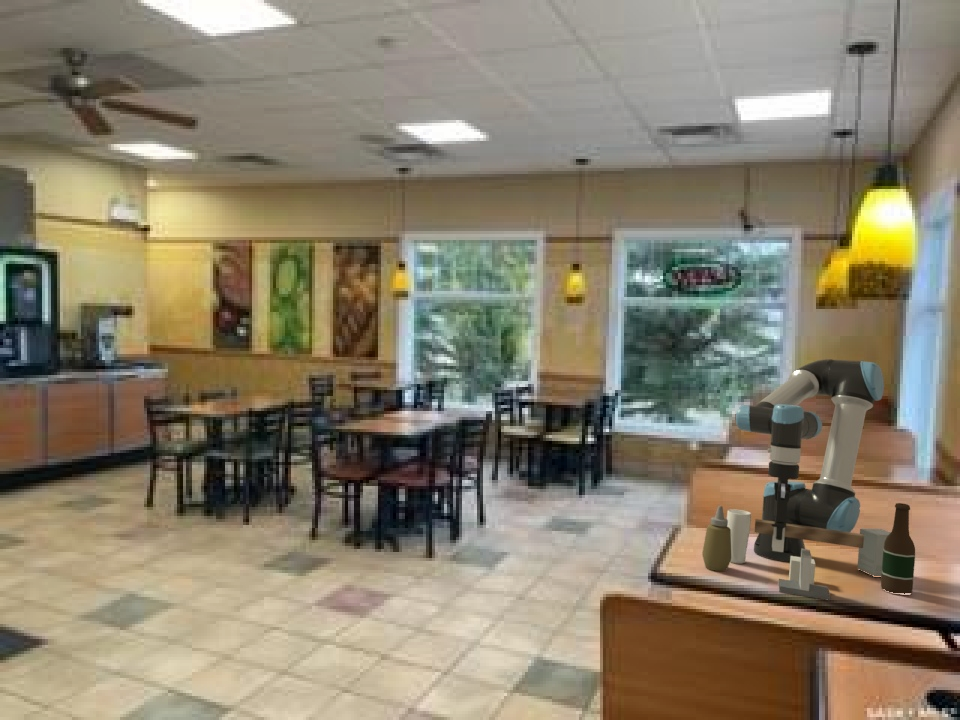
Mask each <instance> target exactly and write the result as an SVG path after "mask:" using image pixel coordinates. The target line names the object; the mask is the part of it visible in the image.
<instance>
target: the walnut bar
mask: <svg viewBox="0 0 960 720" xmlns="http://www.w3.org/2000/svg"><path fill="white" fill-rule="evenodd" d="M754 520H755V522H754V533H757V534H759V533H763V534H770V535H773V533H774V527H773V526H772V524H774V523H775V522H774V521H767V520H762V519H758V518H755V519H754ZM784 537H790V538H797V539H803V541H812V542H817V543H818V542H819V543H824V544H825V543H826V544H832V545H839V546H846V547H853V548H858V549H859V548H863V543H864V536H863V534H860V533H858V532H852V531H851V532H844V531H837V530H830V529H823V528H816V527H809V526H802V525H795V524H788V523H786V527H785V536H784Z"/></svg>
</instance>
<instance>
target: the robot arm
mask: <svg viewBox="0 0 960 720" xmlns="http://www.w3.org/2000/svg"><path fill="white" fill-rule="evenodd" d="M884 383H885V382H884V376H883V372H882V368H881V367H880V365H878V364H877V363H876V362H872V361H864V360H861V361H860V360H843V359H842V360H841V359H827V358H826V359H820V360H816V361H813V362H810V363H808V364H805V365H803V366H801V367H799V368H797V369H796V370H794V371H793V372H792V373H791V374H790V375H789V376H788V380H786V381H785V382H784V383H783V384H781V385H780V386H779V387H777V388H776V389H775V390H773V391H772V392H771V393H769V394H768V395H767V396H766V397H764V398H763V399H762V400H760V401H759V402H758V403H756V404H754V405H750V404H749V405H744V404H743V405H740V407H739V408H737V410H736V415H735V424H736V427H737V428H738V429H739V430H740V431H744V432H749V433H755V434H756V433H757V434H764V435H771V436H770V448H769V447H768V448H767V452H769V460H771V461H769V462H768V468H767V469H768V471H767V474H768V476H770V477H773V478H777V481H769V482H767V483H765V486H764V491H763V495H762V497H763V498H762V499H763V501H762V514H761V515H762V517H761V520H767V521H774V522H775V523H774V524H772V526H773V527H774V533H773V535H770V534H763V533H757V537H756V539H755V541H754V544H753V552H754V553H755V554H756V553H757V555H758V556H761V557H763V558H765V559H771V560H774V561H781V562H785V563H790V556H796V557H801V549H806V546H805V542H804V541H805V540H804V539H797V538H790V537H784V536H785V527H786V523H788V524H795V525H802V526H809V527H816V528H823V529H830V530H837V531H844V532H851V533H852V531H853V530H854V528H855V526H856V525H857V522H858V520H859V518H860V512H861V509H860V508H861V502H860V500H859V499H858V498H857V497H856V492H855V490H854V488H853V487H852V482H853V478H854V473H855V467H856V462H857V458H858V452H859V447H860V443H861V438H862V433H863V427H864V423H865V418H866V414H867V412H868V410H870V409H872V408H873V407H874V403H875V401H876V402H877V401H881V400H882V397H883V396H884V389H885V388H884ZM814 396H828V397H831V398H830V400H831V402H832V403H833V404H834V406H835V407H834V411H833V414H832V415H833V416H832V419H831V424H830V429H829V434H828V438H827V443H826V449H825V452H824V458H823V461H822V462H823V464H822V468H821V471H820V476H819V479H817V480H816V481H814V482H813V483H812V488H811V489H810V488H806V487H807V486H806V484H805V482H801V481H792V480H797V479H798V478H799V475H800V465H799V463H800V462H801V454H802V452H801V451H802V440H810V439H813V438H816V437H818V435H819V434H820V433H821V432H822V429H823V422H822V419H821V417H820V416H819V415H818V414H816V413H815V412H812V411H806V410H804V408H803V407H802V406H800V404H801V403H802V402H803V401H804V400H805V399H811V398H813V397H814ZM789 480H790V481H789Z"/></svg>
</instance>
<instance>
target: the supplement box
mask: <svg viewBox="0 0 960 720" xmlns="http://www.w3.org/2000/svg"><path fill="white" fill-rule="evenodd" d="M891 532H892V531H887V530H885V529H882V528H859V534H863V536H864V543H863V548H858V554H857V555H858V556H857V557H858V558H857V566H856V567H857V568H858V569H860V570H862V571H865V572H867V573H869V574H871V575H874V576H881V574H882V561H883V548H884V542H885V540H886V538H887V536H888V535H889V534H890V533H891ZM857 568H856V569H857Z"/></svg>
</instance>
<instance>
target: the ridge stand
mask: <svg viewBox="0 0 960 720" xmlns="http://www.w3.org/2000/svg"><path fill="white" fill-rule="evenodd" d="M811 559H812V554H811V549H806V548H805V549H801V561H800V575H799V582H796V581H790V580H789V579H783V578H778V590H779V593H785V594H790V595H794V596H795V595H796V596H802V597H808V598H813V599H818V598H821V599H820V600H824V599H828V600H827V601H831V593H830V590H829V587H828V586H825V585H820V584H815V583H814V584H810V571H811Z"/></svg>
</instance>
